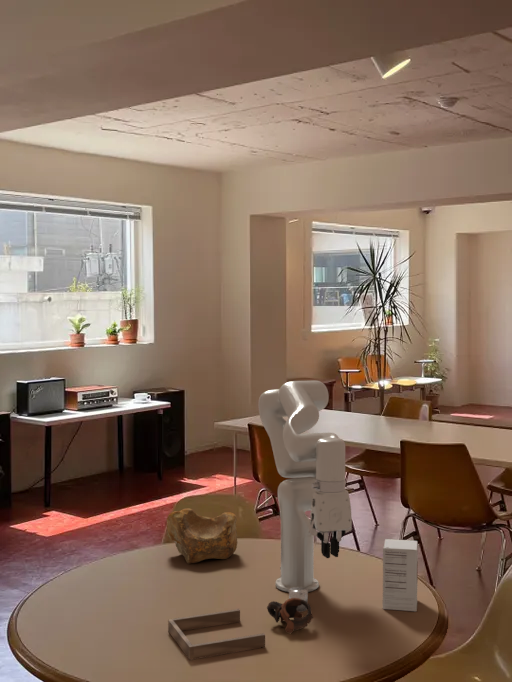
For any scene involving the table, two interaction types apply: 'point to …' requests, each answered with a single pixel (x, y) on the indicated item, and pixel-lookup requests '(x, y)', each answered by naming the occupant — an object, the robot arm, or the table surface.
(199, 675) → the table surface
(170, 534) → the rough brown rock
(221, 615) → the display frame
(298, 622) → the pottery mug
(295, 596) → the grey tin
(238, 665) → the table surface
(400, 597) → the supplement box
